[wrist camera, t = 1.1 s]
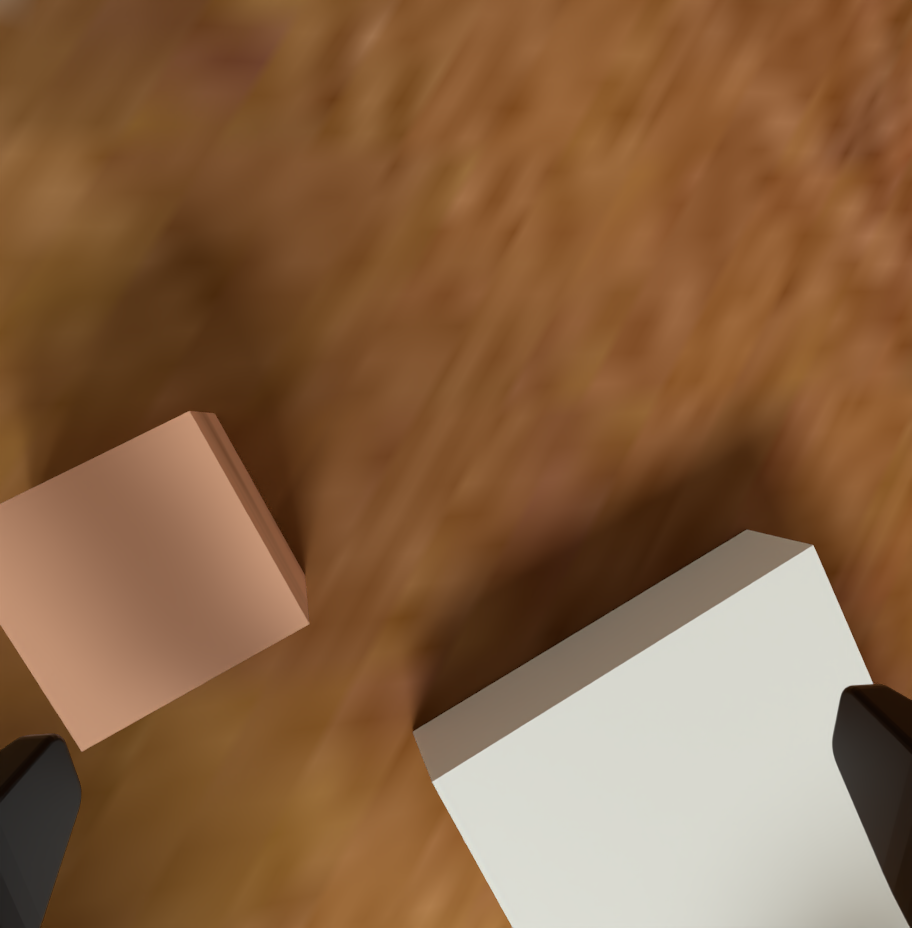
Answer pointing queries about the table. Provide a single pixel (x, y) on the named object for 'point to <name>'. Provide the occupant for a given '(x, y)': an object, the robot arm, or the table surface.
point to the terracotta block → (144, 576)
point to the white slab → (673, 760)
